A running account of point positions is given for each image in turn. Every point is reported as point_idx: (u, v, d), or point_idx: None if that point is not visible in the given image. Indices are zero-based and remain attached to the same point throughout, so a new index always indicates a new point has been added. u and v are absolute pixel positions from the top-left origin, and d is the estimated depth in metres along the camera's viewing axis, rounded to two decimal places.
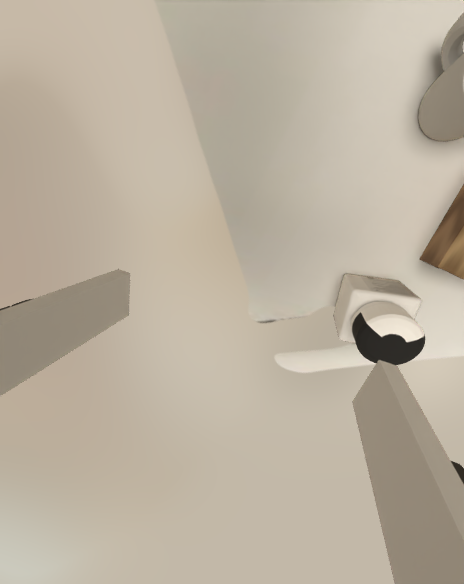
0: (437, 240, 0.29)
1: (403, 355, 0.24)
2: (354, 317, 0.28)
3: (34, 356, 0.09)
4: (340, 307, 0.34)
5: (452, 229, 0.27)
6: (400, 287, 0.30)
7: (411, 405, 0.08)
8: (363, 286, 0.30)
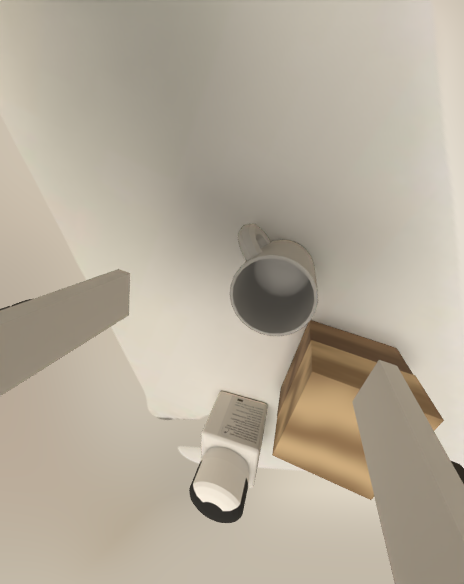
0: (285, 382, 0.30)
1: (224, 519, 0.25)
2: None
3: (34, 356, 0.09)
4: None
5: (288, 382, 0.28)
6: (255, 422, 0.31)
7: (411, 405, 0.08)
8: (217, 424, 0.31)
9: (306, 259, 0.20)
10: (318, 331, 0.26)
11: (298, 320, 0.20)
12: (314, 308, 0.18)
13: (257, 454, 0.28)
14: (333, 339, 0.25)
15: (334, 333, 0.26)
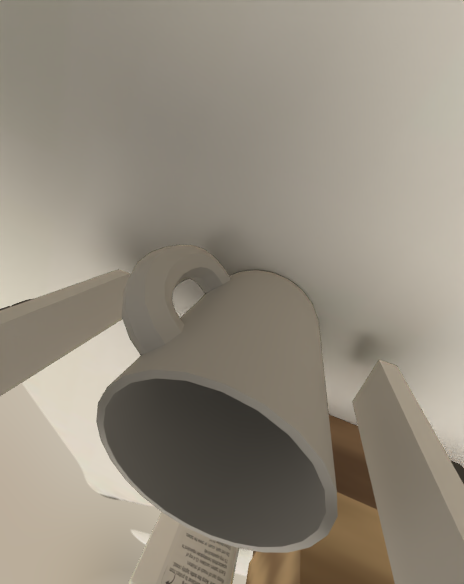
0: None
1: None
2: None
3: (34, 356, 0.09)
4: None
5: None
6: (221, 555, 0.19)
7: (411, 405, 0.08)
8: (157, 562, 0.19)
9: (302, 341, 0.08)
10: None
11: (281, 501, 0.08)
12: (325, 527, 0.06)
13: None
14: (351, 467, 0.13)
15: (352, 442, 0.14)
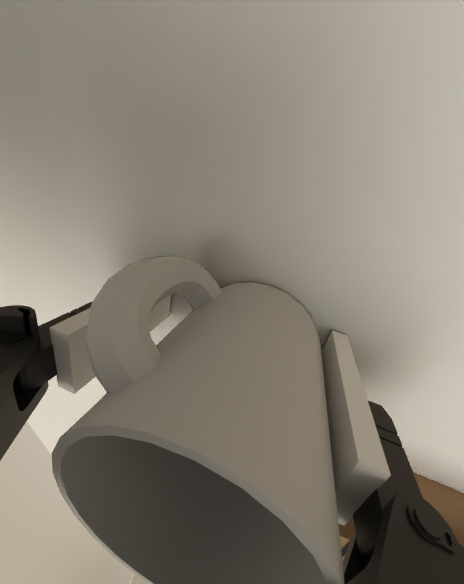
0: None
1: None
2: None
3: None
4: None
5: None
6: None
7: (348, 362, 0.09)
8: None
9: (301, 372, 0.07)
10: None
11: (276, 565, 0.06)
12: None
13: None
14: None
15: None
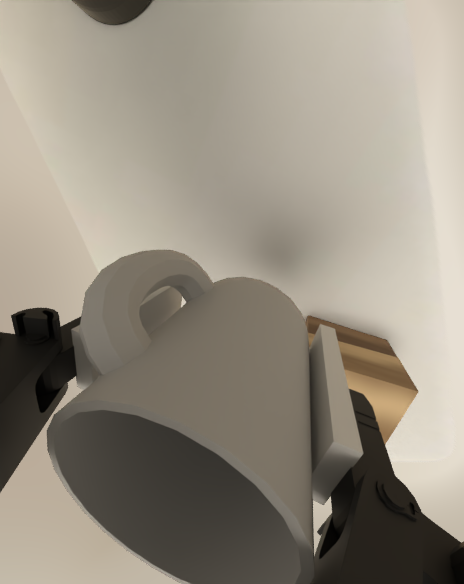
0: None
1: None
2: None
3: None
4: None
5: None
6: None
7: (333, 353, 0.10)
8: None
9: (284, 359, 0.07)
10: (316, 325, 0.28)
11: (258, 540, 0.07)
12: None
13: None
14: None
15: None
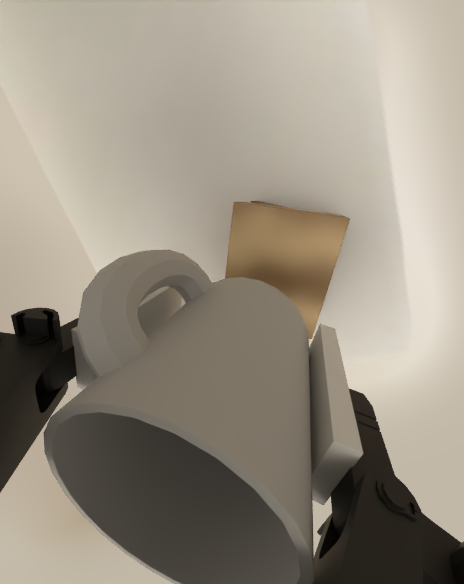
0: None
1: None
2: None
3: None
4: None
5: None
6: None
7: (333, 353, 0.10)
8: None
9: (284, 361, 0.07)
10: None
11: (257, 543, 0.07)
12: None
13: None
14: (274, 205, 0.26)
15: (279, 206, 0.27)
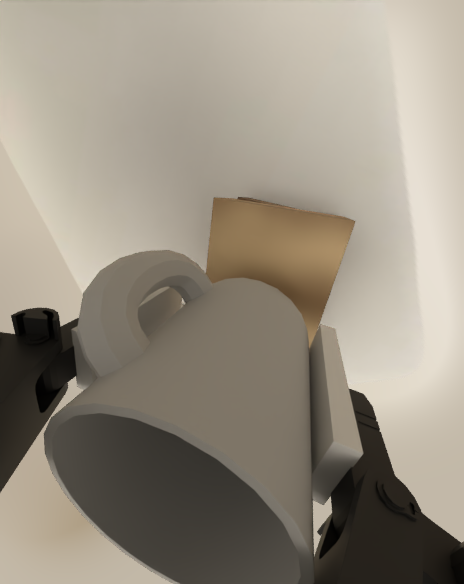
0: None
1: None
2: None
3: None
4: None
5: None
6: None
7: (333, 353, 0.10)
8: None
9: (284, 361, 0.07)
10: (253, 199, 0.23)
11: (258, 544, 0.07)
12: None
13: None
14: None
15: (272, 203, 0.24)
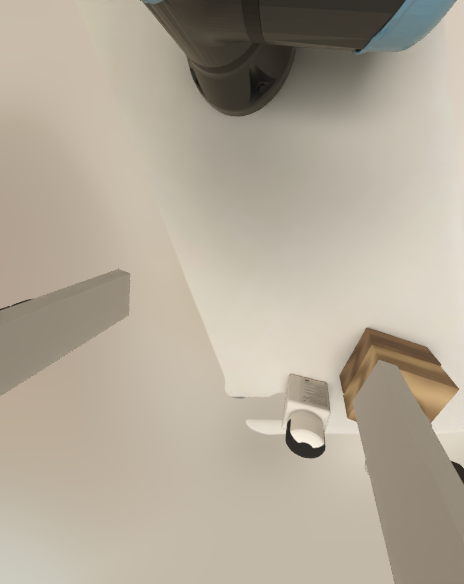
0: (347, 370, 0.43)
1: (312, 454, 0.38)
2: (288, 420, 0.42)
3: (34, 356, 0.09)
4: (285, 401, 0.48)
5: (352, 369, 0.41)
6: (322, 394, 0.44)
7: (411, 405, 0.08)
8: (296, 395, 0.44)
9: None
10: (376, 335, 0.39)
11: None
12: None
13: (329, 414, 0.41)
14: (386, 341, 0.38)
15: (386, 337, 0.39)
